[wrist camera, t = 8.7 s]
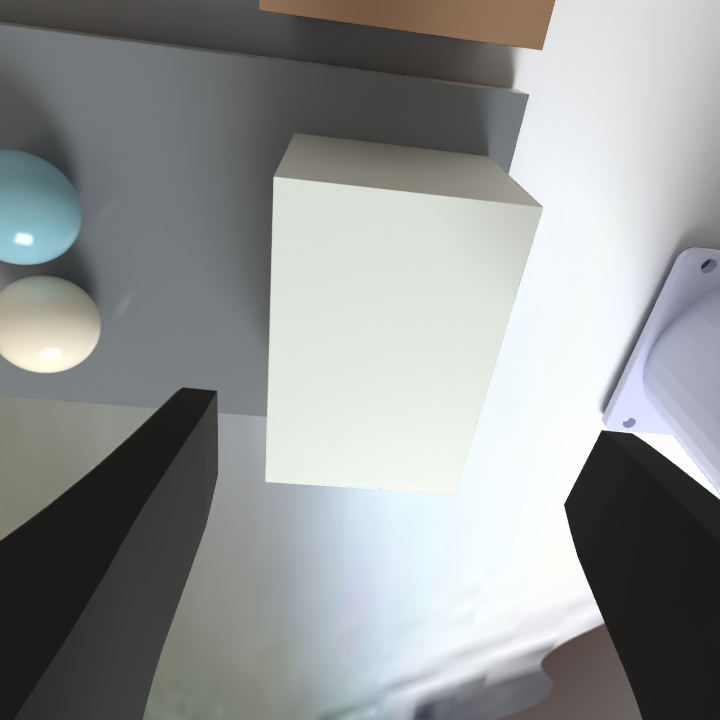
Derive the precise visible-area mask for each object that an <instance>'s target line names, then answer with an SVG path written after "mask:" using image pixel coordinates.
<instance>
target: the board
mask: <svg viewBox="0 0 720 720" xmlns="http://www.w3.org/2000/svg"><path fill="white" fill-rule="evenodd" d="M528 97H529V94H527V93H524V92H522V91H519V90H515V89H508V88H500V87H493V86H485V85H477V84H470V83H462V82H455V81H447V80H440V79H432V78H425V77H417V76H409V75H402V74H394V73H387V72H379V71H372V70H364V69H356V68H349V67H341V66H334V65H326V64H319V63H311V62H304V61H296V60H288V59H281V58H273V57H266V56H258V55H251V54H243V53H236V52H228V51H220V50H213V49H205V48H198V47H190V46H183V45H175V44H167V43H160V42H152V41H145V40H137V39H130V38H122V37H115V36H107V35H99V34H92V33H84V32H77V31H69V30H62V29H54V28H47V27H39V26H31V25H24V24H16V23H9V22H1V21H0V150H1V149H9V150H19V151H24V152H27V153H31V154H34V155H36V156H39V157H41V158H43V159H45V160H46V161H48V162H50V163H51V164H53V165H54V166H55V167H57V168H58V169H59V170H60V171H61V172H62V173H63V174H64V175H65V176H66V177H67V178H68V179H69V181H70V182H71V183H72V185H73V186H74V188H75V190H76V192H77V194H78V197H79V199H80V203H81V207H82V224H81V229H80V232H79V234H78V236H77V238H76V240H75V242H74V243H73V244H72V246H71V247H70V248H69V249H68V250H67V251H66V252H64V253H63V254H62V255H60V256H58V257H57V258H55V259H53V260H50V261H47V262H44V263H40V264H32V265H19V264H12V263H7V262H3V261H1V260H0V292H1V291H2V290H3V289H4V288H5V287H6V286H8V285H10V284H11V283H13V282H15V281H17V280H20V279H22V278H25V277H30V276H38V275H47V276H55V277H59V278H63V279H65V280H68V281H70V282H72V283H74V284H76V285H77V286H79V287H80V288H82V289H83V290H84V291H85V292H86V293H87V294H88V295H89V296H90V297H91V298H92V300H93V301H94V303H95V305H96V306H97V309H98V311H99V314H100V319H101V333H100V338H99V341H98V343H97V345H96V347H95V348H94V350H93V351H92V353H91V354H90V355H89V356H88V357H87V358H86V359H85V360H84V361H82V362H81V363H79V364H78V365H76V366H74V367H72V368H70V369H67V370H64V371H60V372H55V373H38V372H32V371H28V370H25V369H22V368H20V367H17V366H16V365H14V364H12V363H11V362H9V361H8V360H6V359H5V358H4V357H3V356H2V355H1V354H0V396H10V397H22V398H35V399H48V400H61V401H74V402H87V403H100V404H112V405H125V406H138V407H151V408H160V407H161V406H162V405H163V404H164V403H165V402H166V401H167V400H168V399H169V398H170V397H171V396H172V395H173V394H175V393H176V392H177V391H178V390H179V389H181V388H182V387H186V388H196V389H205V390H215V391H217V405H218V413H228V414H241V415H254V416H267V406H268V369H269V332H270V294H271V257H272V220H273V183H274V175H275V173H276V171H277V169H278V167H279V165H280V163H281V160H282V158H283V156H284V154H285V152H286V150H287V148H288V146H289V144H290V142H291V140H292V138H293V136H294V134H295V133H300V134H308V135H316V136H324V137H333V138H341V139H349V140H357V141H366V142H374V143H382V144H390V145H399V146H407V147H415V148H423V149H432V150H440V151H448V152H456V153H465V154H473V155H481V156H489V157H490V158H491V159H492V160H493V161H494V162H495V163H496V164H497V165H498V166H500V167H501V168H502V169H503V170H504V171H505V172H506V173H507V174H508V173H509V170H510V166H511V162H512V158H513V154H514V151H515V147H516V143H517V139H518V135H519V131H520V128H521V124H522V120H523V116H524V112H525V108H526V105H527V101H528Z"/></svg>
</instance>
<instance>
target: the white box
mask: <svg viewBox="0 0 720 720" xmlns="http://www.w3.org/2000/svg"><path fill="white" fill-rule="evenodd" d="M542 210H543V207H542V206H541V205H540V204H539V203H538V202H537V201H536V200H535V199H534V198H533V197H532V196H530V195H529V194H528V193H527V192H526V191H525V190H524V189H523V188H522V187H521V186H520V185H519V184H518V183H517V182H516V181H514V180H513V179H512V178H511V177H510V176H509V175H508V174H507V173H506V172H505V171H504V170H503V169H502V168H501V167H500V166H498V165H497V164H496V163H495V162H494V161H493V160H492V159H491V158H490V157H489V156H481V155H473V154H465V153H456V152H448V151H440V150H432V149H423V148H415V147H407V146H399V145H390V144H382V143H374V142H366V141H357V140H349V139H341V138H333V137H324V136H316V135H308V134H300V133H295V134H294V136H293V138H292V140H291V142H290V144H289V146H288V148H287V150H286V152H285V154H284V156H283V158H282V160H281V163H280V165H279V167H278V169H277V171H276V173H275V175H274V183H273V220H272V257H271V294H270V332H269V369H268V406H267V443H266V481H265V482H277V483H292V484H307V485H321V486H336V487H351V488H365V489H380V490H395V491H410V492H424V493H439V494H454V495H455V494H456V490H457V487H458V484H459V480H460V477H461V474H462V471H463V467H464V464H465V461H466V458H467V454H468V451H469V448H470V445H471V441H472V438H473V435H474V432H475V428H476V425H477V422H478V418H479V415H480V412H481V409H482V405H483V402H484V399H485V396H486V392H487V389H488V386H489V383H490V379H491V376H492V373H493V370H494V366H495V363H496V360H497V356H498V353H499V350H500V347H501V343H502V340H503V337H504V334H505V330H506V327H507V324H508V321H509V317H510V314H511V311H512V308H513V304H514V301H515V298H516V294H517V291H518V288H519V285H520V281H521V278H522V275H523V272H524V268H525V265H526V262H527V259H528V255H529V252H530V249H531V246H532V242H533V239H534V236H535V232H536V229H537V226H538V223H539V219H540V216H541V213H542Z"/></svg>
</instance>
